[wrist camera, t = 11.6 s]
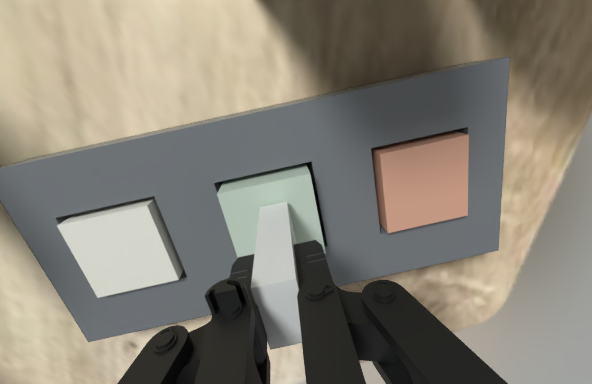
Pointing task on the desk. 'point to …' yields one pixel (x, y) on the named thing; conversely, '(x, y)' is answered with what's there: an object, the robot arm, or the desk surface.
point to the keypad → (260, 158)
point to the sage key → (267, 191)
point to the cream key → (122, 246)
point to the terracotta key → (421, 180)
